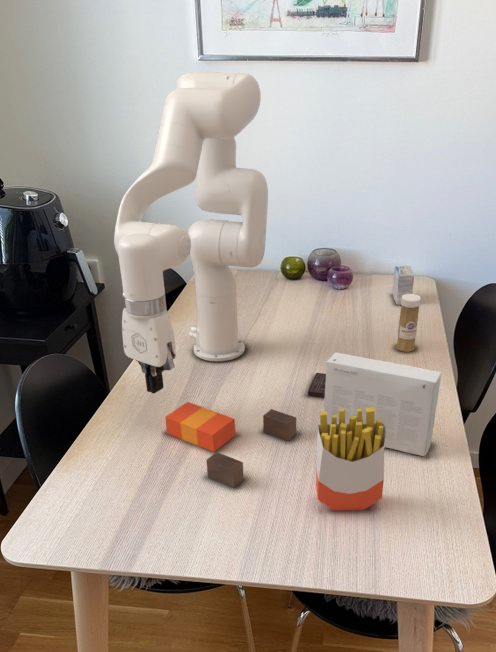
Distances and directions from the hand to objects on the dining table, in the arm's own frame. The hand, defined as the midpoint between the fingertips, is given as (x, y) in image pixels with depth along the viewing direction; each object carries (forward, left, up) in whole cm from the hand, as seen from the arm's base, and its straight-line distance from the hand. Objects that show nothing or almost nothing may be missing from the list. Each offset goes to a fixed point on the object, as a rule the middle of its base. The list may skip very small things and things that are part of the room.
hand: (155, 389), depth 135 cm
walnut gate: (+24, 0, -7) cm, 25 cm away
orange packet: (+11, 0, -7) cm, 13 cm away
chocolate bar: (+28, +32, -7) cm, 43 cm away
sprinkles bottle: (+29, +58, -7) cm, 66 cm away
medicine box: (+15, +86, -7) cm, 88 cm away
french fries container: (+46, -3, -7) cm, 47 cm away
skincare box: (+41, +18, -7) cm, 45 cm away
